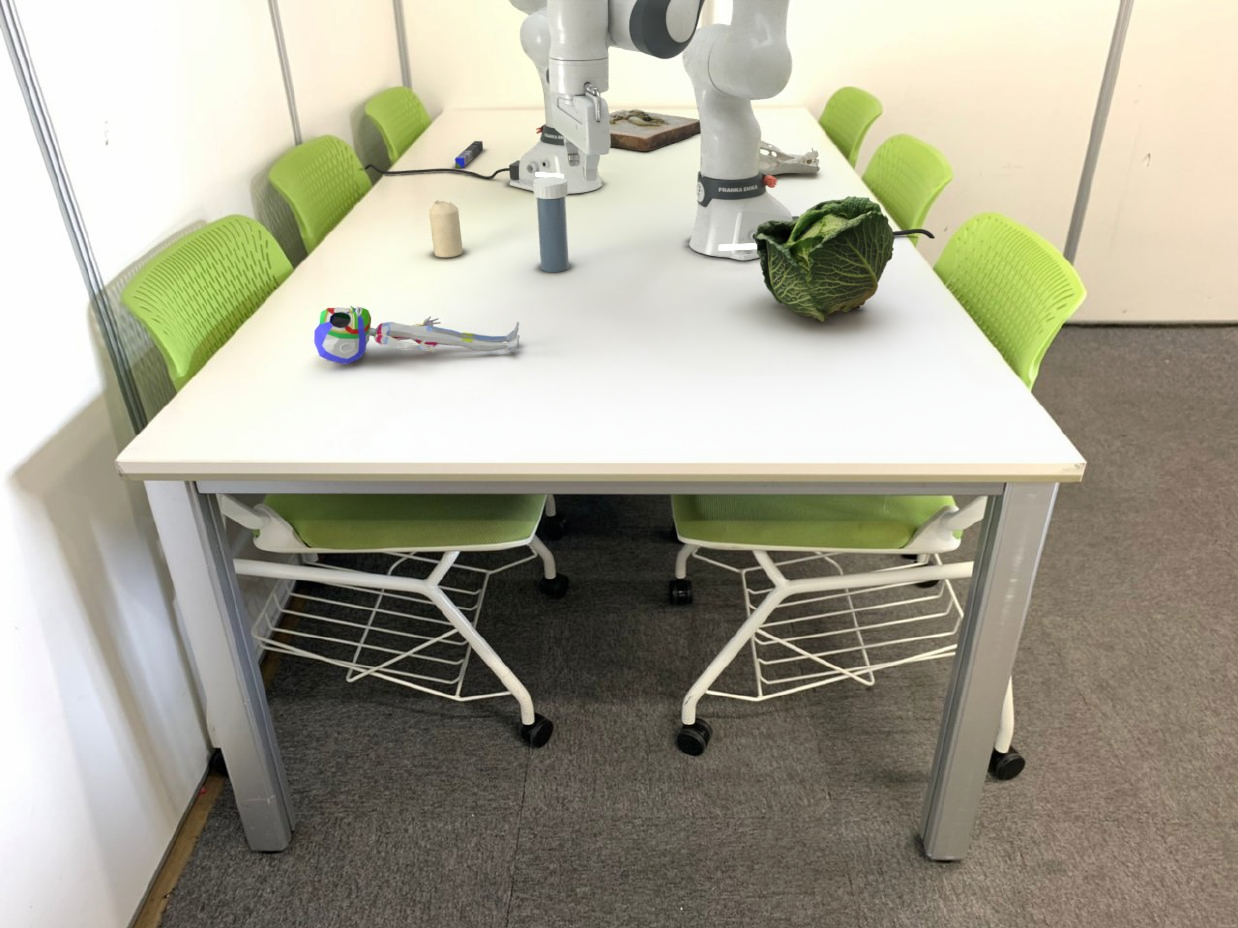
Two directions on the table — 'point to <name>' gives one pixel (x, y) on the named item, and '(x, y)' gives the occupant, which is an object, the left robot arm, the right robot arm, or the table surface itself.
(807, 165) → the anatomical model
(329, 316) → the toy
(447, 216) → the candle
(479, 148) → the pillar
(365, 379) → the table surface
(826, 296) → the vegetable
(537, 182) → the lid
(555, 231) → the jar
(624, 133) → the plaque
